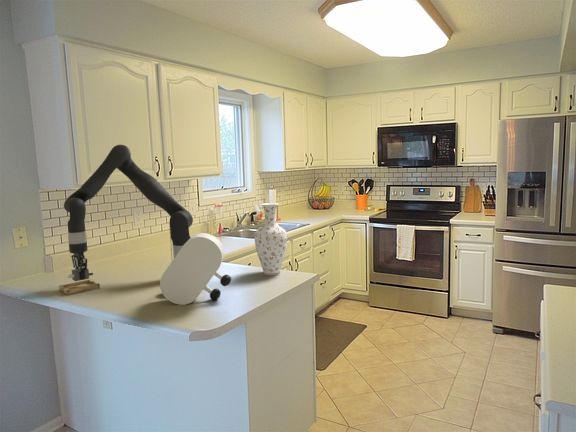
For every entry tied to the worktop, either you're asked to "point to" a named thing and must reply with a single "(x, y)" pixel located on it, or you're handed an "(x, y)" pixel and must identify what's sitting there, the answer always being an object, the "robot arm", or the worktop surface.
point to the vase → (270, 242)
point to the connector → (76, 275)
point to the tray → (79, 287)
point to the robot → (194, 270)
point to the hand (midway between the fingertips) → (80, 278)
